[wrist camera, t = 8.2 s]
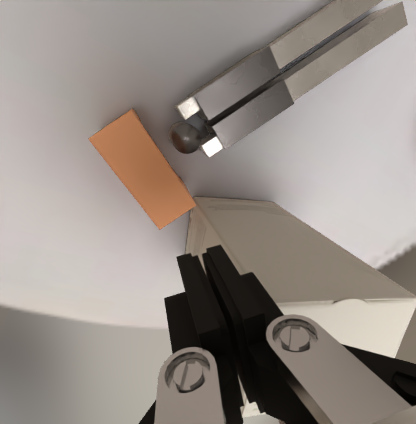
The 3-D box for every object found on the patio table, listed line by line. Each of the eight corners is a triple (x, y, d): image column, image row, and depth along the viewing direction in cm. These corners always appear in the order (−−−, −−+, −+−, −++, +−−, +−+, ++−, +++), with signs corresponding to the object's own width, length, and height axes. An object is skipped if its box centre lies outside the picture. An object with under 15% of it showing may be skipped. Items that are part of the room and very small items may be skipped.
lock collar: (155, 204, 25) (159, 229, 20) (99, 130, 22) (88, 138, 17) (185, 184, 25) (196, 205, 20) (132, 108, 22) (130, 110, 17)
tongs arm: (202, 152, 24) (211, 159, 21) (190, 132, 23) (197, 136, 21) (378, 34, 24) (409, 26, 21) (372, 10, 23) (403, -2, 20)
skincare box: (182, 257, 27) (229, 425, 13) (192, 190, 25) (259, 303, 11) (264, 260, 30) (381, 406, 15) (279, 197, 28) (429, 300, 13)
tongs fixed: (177, 152, 24) (183, 159, 21) (155, 117, 23) (157, 120, 20) (372, 21, 24) (406, 10, 21) (361, -21, 22) (395, -40, 19)
